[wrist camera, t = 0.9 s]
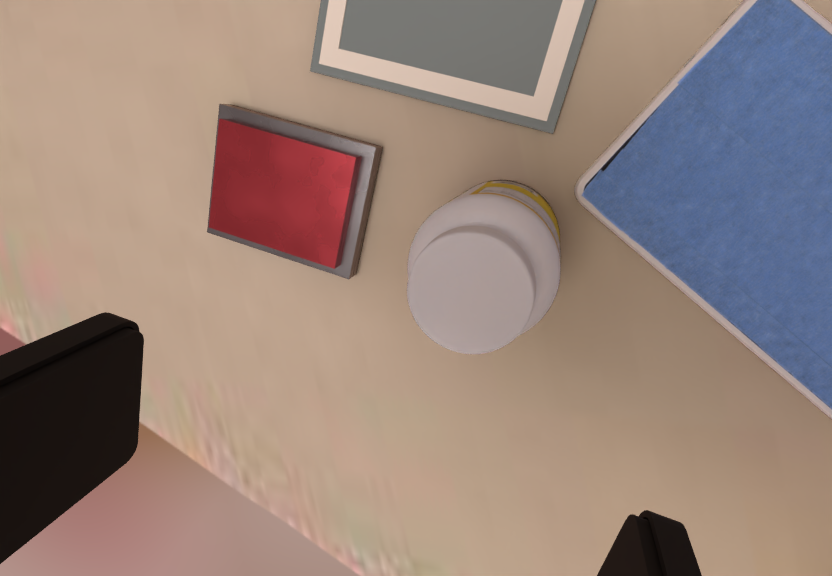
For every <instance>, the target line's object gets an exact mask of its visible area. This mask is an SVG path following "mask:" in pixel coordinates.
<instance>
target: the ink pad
mask: <svg viewBox="0 0 832 576" xmlns="http://www.w3.org/2000/svg"><path fill="white" fill-rule="evenodd" d="M382 149H383V147H381V146H378V145H374V144H371V143H367V142H363V141H360V140H356V139H353V138H349V137H346V136H342V135H338V134H335V133H331V132H328V131H324V130H320V129H317V128H313V127H310V126H306V125H302V124H299V123H295V122H292V121H288V120H284V119H281V118H277V117H274V116H270V115H267V114H263V113H259V112H256V111H252V110H249V109H245V108H241V107H238V106H234V105H228V104H219V115H218V125H217V135H216V146H215V156H214V167H213V177H212V187H211V198H210V208H209V219H208V229H207V232H208V233H211V234H214V235H217V236H220V237H223V238H226V239H229V240H232V241H235V242H238V243H241V244H244V245H247V246H250V247H253V248H256V249H259V250H262V251H265V252H268V253H271V254H274V255H277V256H280V257H283V258H286V259H289V260H292V261H295V262H298V263H301V264H304V265H307V266H311V267H314V268H317V269H320V270H323V271H326V272H329V273H332V274H335V275H338V276H341V277H344V278H347V279H350V278H351V277H353V276H354V275H356V273H357V268H358V264H359V259H360V254H361V249H362V244H363V240H364V235H365V230H366V225H367V221H368V216H369V211H370V206H371V201H372V197H373V192H374V187H375V182H376V178H377V173H378V168H379V163H380V158H381V154H382Z"/></svg>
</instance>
